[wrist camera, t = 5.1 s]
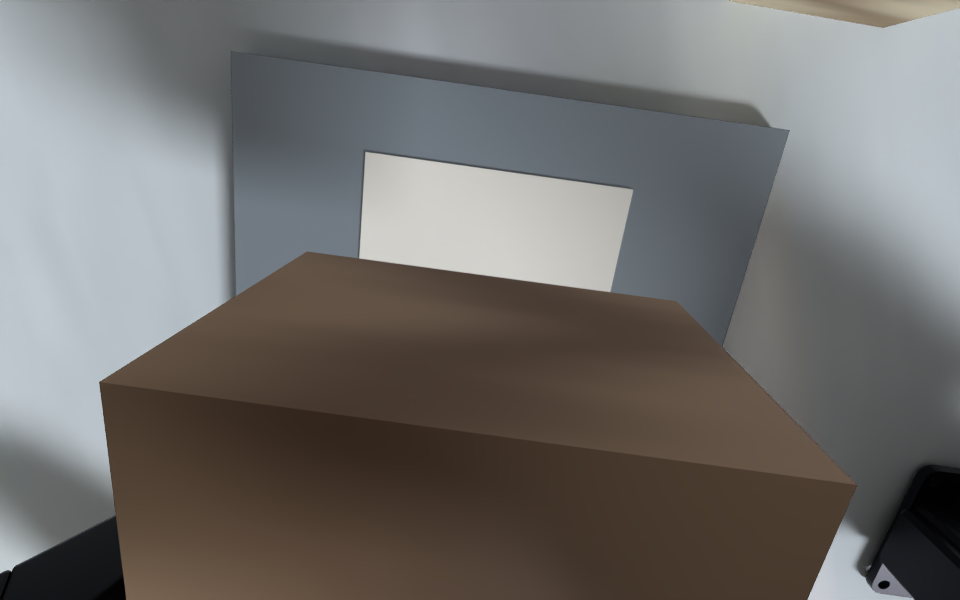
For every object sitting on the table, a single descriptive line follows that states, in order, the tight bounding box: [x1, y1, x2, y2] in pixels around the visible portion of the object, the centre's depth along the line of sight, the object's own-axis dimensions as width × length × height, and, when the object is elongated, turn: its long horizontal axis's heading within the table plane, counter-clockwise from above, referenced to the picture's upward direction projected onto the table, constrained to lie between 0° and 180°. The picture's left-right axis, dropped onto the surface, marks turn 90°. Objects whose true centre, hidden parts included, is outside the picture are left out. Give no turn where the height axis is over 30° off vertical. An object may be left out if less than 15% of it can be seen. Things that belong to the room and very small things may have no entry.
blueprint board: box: [231, 51, 790, 347], centre depth 19 cm, size 18×14×1 cm
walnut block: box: [99, 251, 857, 600], centre depth 7 cm, size 6×7×4 cm
